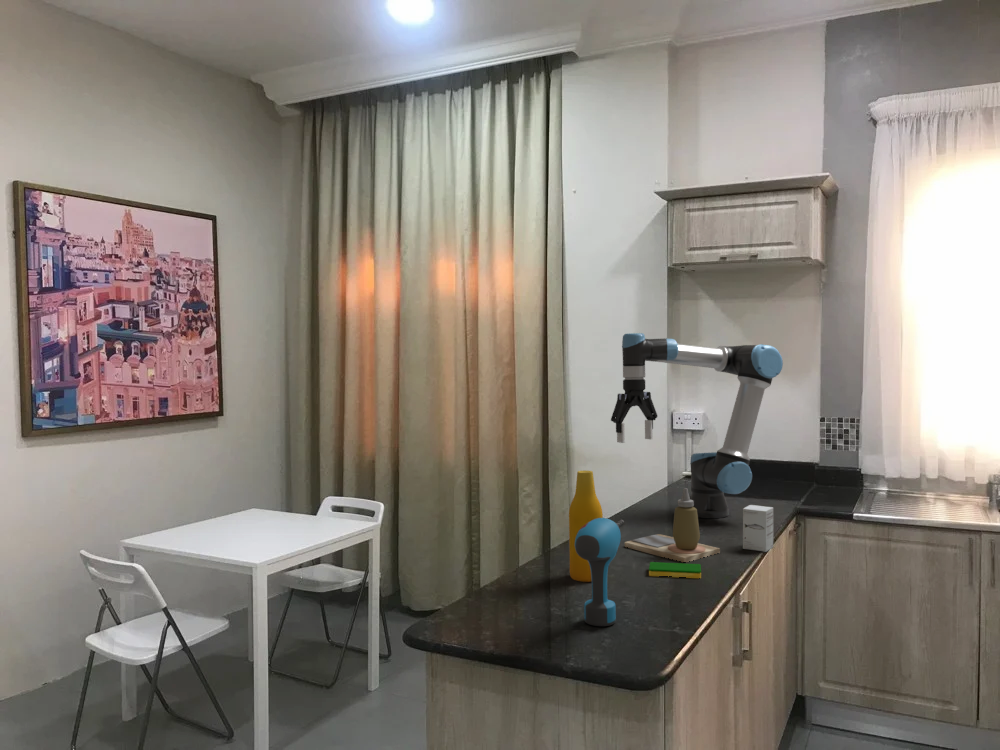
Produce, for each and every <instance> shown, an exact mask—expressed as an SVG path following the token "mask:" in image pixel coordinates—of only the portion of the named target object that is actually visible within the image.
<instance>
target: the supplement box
mask: <svg viewBox="0 0 1000 750" xmlns="http://www.w3.org/2000/svg"><path fill="white" fill-rule="evenodd" d="M774 509H775V508H774V507H772V506H763V505H757V504H756V505H755V504H749V505H747V506H745V507H744V508H742V549H744V550H751V551H757V552H763V553H767V552H768V551H770V550H771V549H772V548H774Z"/></svg>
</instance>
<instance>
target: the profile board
mask: <svg viewBox="0 0 1000 750" xmlns="http://www.w3.org/2000/svg"><path fill="white" fill-rule="evenodd" d="M627 547H628V549H631V550H634V551H635V550H636V551H639V552H643V553H646V554H650V555H653V556H657V557H662V558H664V557H665V559H668V558H669V560H672V559H673V560H672V561H676V560H677V561H676V562H679V561H681V562H680V563H683V562H686V563H689V561H690V562H693V560H694V561H697V560H700V558H701V559H704V558H703V557H705V558H708V557H711V556H710V555H712V556H715V555H714V554H716V555H718V554H717V553H719V554H720V553H721V549H720V547H715V546H711V545H707V544H702V543H699V542H698V545H697V548H696V549H692V550H683V549H679V548H677V547H676V544H675V541H674V538H673V536H669V535H666V534H665V535H664V534H661V533H657V534H651V535H647V536H643V537H639V538H635V539H631V540H628V541H624V548H627ZM707 556H708V557H707Z"/></svg>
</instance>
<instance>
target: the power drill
mask: <svg viewBox="0 0 1000 750" xmlns="http://www.w3.org/2000/svg"><path fill="white" fill-rule="evenodd" d="M624 525H625V521H624V520H623V519H622V518H620V519H619V520H617V521H616V522H615V521H614V520H611V519H610V518H605V517H603V518H597V519H594V520H592V521H590V522H588V523H587V524H585V525H584V526H583V527H581V529H580V530H579V531H578V533H577V535H576V539H575V549H576V552H577V554H578V555H579V556H580V557H581V558H583V559H585V560H588V562H589V564H590V569H591V578H592V582H591V599H587V600H586V601H585V602H584V604H583V606H584V607H583V610H584V611H583V612H584V614H583V618H584V622H585V623H586V624H588V625H590V626H593V627H610V626H612V625H614V624H615V623H616V621H617V618H616V617H617V615H616V614H617V613H616V608H617V607H616V603H615V601H614V600H611V599H608V572H609V571H608V570H609V567H610V564H611V562H612V561H613V560H614V559H615V558H616V555H617V553H618V549H619V546H620V544H621V538H622V536H621V535H622V534H621V530H620V528H621V527H623V526H624Z"/></svg>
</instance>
